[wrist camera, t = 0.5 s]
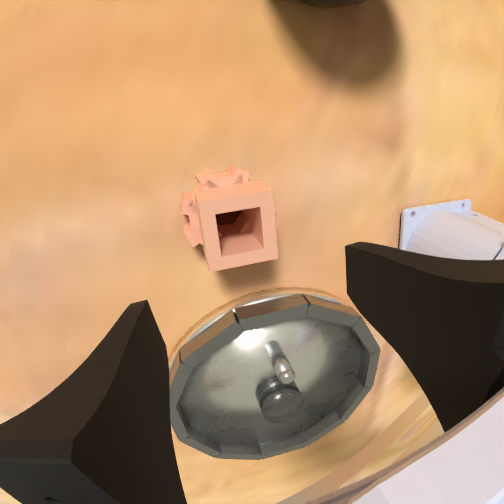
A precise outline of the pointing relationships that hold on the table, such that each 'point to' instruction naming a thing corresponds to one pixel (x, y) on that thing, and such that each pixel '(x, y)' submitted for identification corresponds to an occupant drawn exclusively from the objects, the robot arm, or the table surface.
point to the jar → (332, 2)
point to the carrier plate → (269, 373)
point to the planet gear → (244, 227)
